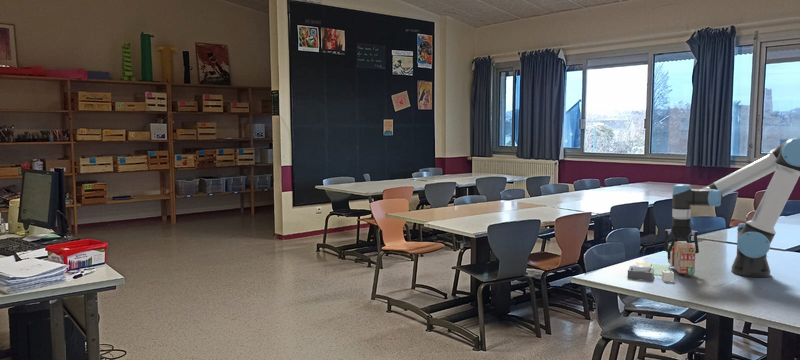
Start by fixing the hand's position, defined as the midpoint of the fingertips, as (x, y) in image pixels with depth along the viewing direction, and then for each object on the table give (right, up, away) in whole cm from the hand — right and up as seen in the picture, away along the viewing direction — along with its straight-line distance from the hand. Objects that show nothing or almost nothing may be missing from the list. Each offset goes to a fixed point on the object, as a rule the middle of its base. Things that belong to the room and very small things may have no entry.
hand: (680, 267), depth 261 cm
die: (-13, -4, -14) cm, 20 cm away
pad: (-15, -2, +8) cm, 17 cm away
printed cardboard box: (0, -1, 0) cm, 1 cm away
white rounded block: (-22, -2, -8) cm, 24 cm away
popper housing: (-22, -3, -8) cm, 24 cm away
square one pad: (-8, -2, +4) cm, 9 cm away
